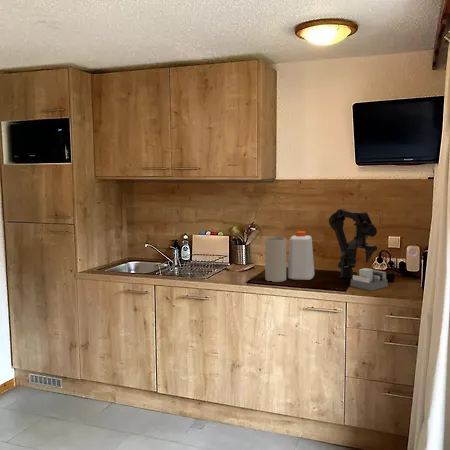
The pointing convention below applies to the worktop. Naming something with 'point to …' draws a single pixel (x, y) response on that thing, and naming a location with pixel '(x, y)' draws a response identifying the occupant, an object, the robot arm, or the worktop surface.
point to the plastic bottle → (301, 257)
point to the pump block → (366, 273)
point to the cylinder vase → (275, 259)
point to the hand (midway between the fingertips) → (360, 261)
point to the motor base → (365, 283)
